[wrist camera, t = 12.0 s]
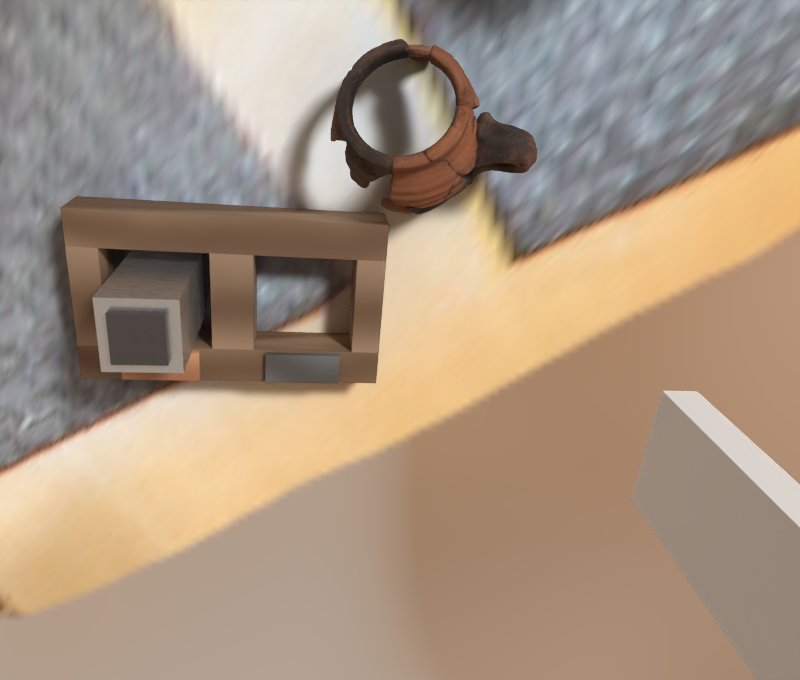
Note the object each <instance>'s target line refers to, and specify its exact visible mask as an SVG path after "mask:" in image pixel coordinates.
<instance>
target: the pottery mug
mask: <svg viewBox="0 0 800 680" xmlns="http://www.w3.org/2000/svg"><path fill="white" fill-rule="evenodd" d="M408 57H410V58H411V59H412V60H415V61H430V63H431V64H433V65H435V66H436V67H438V68H439V69H441V70H442V71H443V72H444V73H445V74H446V75H447V77H448V78H449V80H450V81H451V83H452V86H453V88H454V91H455V95H456V112H455V116H454V119H453V121H452V123H451V125H450V127H449V129H448V130H447V132H446V133H445V134H444V136H443V137H442V138H441V139H440V140H439V141H438V142H437V143H435V144H434V145H433V146H431V147H429V148H428V149H426V150H424V151H422V152H418V153H416V154H412V155H404V156H390V155H387V154H384V153H381V152H379V151H376V150H375V149H373V148H371V147H370V146H369V145H368V144H367V143H366V142H365V141H364V140H363V139H362V138H361V137H360V135H359V134H358V132H357V130H356V128H355V127H354V123H353V115H352V108H353V102H354V98H355V95H356V93H357V90H358V88H359V87H360V85H361V84H362V82H363V81H364V80H365V79H366V78H367V77H368V76H369V75H370V74H371V73H372V72H373V71H374V70H376V69H377V68H378V67H380V66H382V65H383V64H386V63H388V62H391V61H394V60H398V59H404V58H408ZM477 107H479V101H478V98H477V96H476V93H475V91H474V89H473V87H472V86H471V83H470V81H469V79H468V78H467V76H466V75H465V73H464V71H463V69H462V68H461V66H460V65H459V63H458V62H457V61H456V60H455V59H454V58H453V56H452V55H451V54H449V53H447V52H446V51H444V50H443V49H441V48H440V47H438V46H435V45H434V46H432V47H430V46H424V45H408V44H407V43H406V42H405V41H404V40H402V39H397V40H394V41H390V42H387V43H384V44H382V45H381V46H378V47H376V48H373V49H371V50H370V51H368V52H367V53H366V54H364V55H363V56H362V57H361V58H360V59H359V60H358V61H357V62H356V63H355V64H354V65H353V68H352V70H350V71H349V72H348V74H347V76H346V77H345V78H344V80H343V83H342V86H341V88H340V91H339V94H338V97H337V100H336V105H335V110H334V116H333V121H332V127H331V141H336V140H342V141H346V143H347V146H346V151H345V155H346V162H347V165H348V166H349V168H350V176H351V178H352V179H353V180H354V181H355V182H356V183H357V184H358V185H359V186H361V187H362V188H367V187H368V186H369V183H370V182H371V181H374V180H376V179H378V178H379V177H382V176H385V175H388V174H392V180H391V188H390V193H389V199H391V200H388V199H384V200H383V201H382V206H383V207H385V208H387V209H389V210H391V211H394V212H401V213H406V214H412V213H415V214H420V213H424V212H427V211H430V210H432V209H434V208H436V207H438V206H440V205H441V204H443V203H445V202H446V201H447V200H448V199H450V198H451V197H453V196H455V195H457V194H458V193H459V192H461V191H462V190H463V189H465V188H466V187H467V186H468V185H469V184H471V183H472V181H473V179H474V177H475V176H476V175H477V174H479V173H482V172H485V171H490V170H494V171H502V172H509V173H523V172H527V171H528V170H529V168H530V167H531V166H532V165H533V164H534V163H535V162H536V159H537V148H536V144H535V142H534V139H533V136H532V135H531V134H530V133H528V132H527V131H525V130H523V129H520V128H517V127H515V126H511V125H506V124H502V123H499V122H497V121H496V120H494V119H493V118H492V116H491V114H490V113H488V112H484V113H481V114H480V116H479V117H478V119H477V121H476V117H475V116H474V112H473V109H474V108H477Z"/></svg>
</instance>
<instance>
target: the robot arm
mask: <svg viewBox="0 0 800 680" xmlns="http://www.w3.org/2000/svg"><path fill="white" fill-rule="evenodd" d="M631 500H632V502H633V503H634V505H635V506H636V508H637V509H638V511H639V512H640V513H641V515H642V516H643V518H644V519H645V521H646V522H647V523H648V525H649V526H650V528H651V529H652V531H653V532H654V533H655V535H656V536H657V538H658V539H659V541H660V542H661V543H662V545H663V546H664V548H665V549H666V550H667V552H668V553H669V555H670V556H671V557H672V559H673V561H674V562H675V564H676V565H677V566H678V568H679V569H680V571H681V572H682V573H683V575H684V576H685V578H686V579H687V581H688V582H689V583H690V585H691V586H692V588H693V589H694V591H695V592H696V593H697V595H698V596H699V598H700V599H701V601H702V602H703V604H704V605H705V606H706V608H707V609H708V611H709V612H710V613H711V615H712V616H713V618H714V619H715V621H716V622H717V624H718V625H719V626H720V628H721V629H722V631H723V632H724V634H725V635H726V637H727V638H728V639H729V641H730V642H731V644H732V645H733V646H734V648H735V649H736V651H737V652H738V654H739V655H740V657H741V658H742V659H743V661H744V662H745V664H746V665H747V666H748V668H749V669H750V671H751V672H752V674H753V675H754V677H755V678H756V679H757V680H800V485H799V484H798V483H797V482H796V481H795V480H794V479H793V478H792V477H790V476H789V475H788V474H787V473H786V472H785V471H784V470H783V469H782V468H781V467H780V466H779V465H777V464H776V463H775V462H774V461H773V460H772V459H771V458H770V457H769V456H768V455H766V454H765V453H764V452H763V451H762V450H761V449H760V448H759V447H757V445H755V444H754V443H753V442H752V441H751V440H750V439H749V438H748V437H747V436H746V435H744V434H743V433H742V432H741V431H740V430H739V429H738V428H737V427H736V426H735V425H733V424H732V423H731V422H730V421H729V420H728V419H727V418H726V417H725V416H724V415H722V414H721V413H720V412H719V411H718V410H717V409H716V408H715V407H714V406H713V405H712V404H710V403H709V402H708V401H707V400H706V399H705V398H704V397H703V396H702V395H700V394H699V393H698V392H697V391H662V395H661V398H660V402H659V405H658V409H657V412H656V416H655V419H654V423H653V426H652V430H651V433H650V437H649V440H648V444H647V447H646V450H645V454H644V458H643V461H642V465H641V468H640V472H639V475H638V478H637V482H636V485H635V489H634V493H633V496H632V499H631Z"/></svg>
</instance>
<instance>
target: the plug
mask: <svg viewBox="0 0 800 680" xmlns="http://www.w3.org/2000/svg"><path fill="white" fill-rule="evenodd" d="M92 298H93V307H94V315H95V324H96V332H97V341H98V349H99V358H100V366H101V372H140V373H184V371H185V369H186V366H187V363H188V360H189V358H190V355H191V352H192V349H193V347H194V344H195V341H196V338H197V336H198V333H199V330H200V328H201V325H202V322H203V319H204V317H205V304H204V281H203V258H202V253H192V252H167V251H141V250H131V251H130V252H129V254H128V255H127V256H126V257H125V258H124V260H123V261H122V262H121V263H120V265H119V266H118V267H117V268H116V269H115V271H114V272H113V273H112V274H111V275H110V277H109V278H108V279H107V280H106V282H105V283H104V284H103V285H102V286H101V288H100V289H99V290H98V291H97V292H96V294H95V295H94V296H93V297H92Z"/></svg>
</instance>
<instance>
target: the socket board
mask: <svg viewBox="0 0 800 680" xmlns="http://www.w3.org/2000/svg"><path fill="white" fill-rule="evenodd" d="M60 209H61V217H62V225H63V233H64V241H65V249H66V258H67V266H68V274H69V282H70V290H71V298H72V306H73V314H74V322H75V330H76V338H77V347H78V355H79V363H80V371H81V378H117V379H123V380H180V381H200V380H228V381H265V382H292V383H338V382H340V383H376V376H377V364H378V352H379V340H380V328H381V316H382V304H383V292H384V280H385V268H386V256H387V244H388V232H389V225H388V222H387V220H386V218H385V215H384V214H376V213H359V212H341V211H324V210H307V209H289V208H272V207H254V206H237V205H220V204H202V203H185V202H167V201H150V200H133V199H115V198H98V197H80V196H77V197H75V198H74V199H72V200H71V201H69V202H68V203H67V204H65V205H64V206H62V207H61V208H60ZM113 249H128V250H149V251H171V252H192V253H209V258H210V290H211V322H212V330H199V333H198V336H197V338H196V341H195V344H194V347H193V349H192V352H191V355H190V358H189V360H188V363H187V366H186V369H185V371H184V373H140V372H101V366H100V358H99V349H98V341H97V332H96V324H95V315H94V307H93V298H92V297H93V296H94V295H95V294H96V292H97V291H98V290H99V289H100V288H101V286H102V285H103V284H104V283H105V282H106V280H107V279H108V278H109V277H110V275H111V274H112V273H113V272H114V271H115V269H114V258H113ZM257 256H279V257H300V258H322V259H343V260H354V262H353V278H352V294H351V310H350V327H349V334H336V333H302V332H268V331H257Z"/></svg>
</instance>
